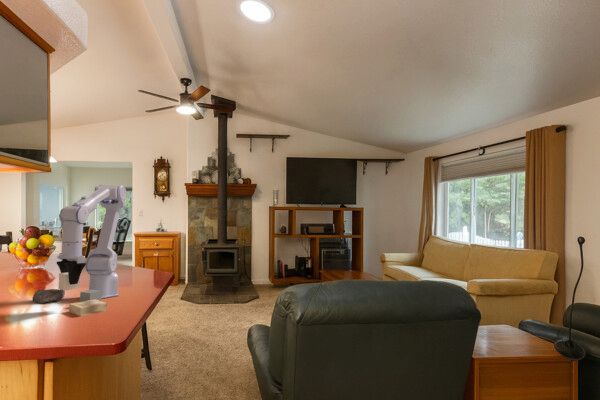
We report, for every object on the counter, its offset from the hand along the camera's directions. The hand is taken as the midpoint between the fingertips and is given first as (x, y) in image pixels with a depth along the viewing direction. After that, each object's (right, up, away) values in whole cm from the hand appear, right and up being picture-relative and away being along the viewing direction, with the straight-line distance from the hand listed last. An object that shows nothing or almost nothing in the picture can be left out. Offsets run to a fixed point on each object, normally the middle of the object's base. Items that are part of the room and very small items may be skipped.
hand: (70, 283), depth 116 cm
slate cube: (+3, -9, +6) cm, 12 cm away
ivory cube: (0, -2, 0) cm, 2 cm away
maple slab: (+7, -10, -1) cm, 12 cm away
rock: (-15, -10, +12) cm, 22 cm away
